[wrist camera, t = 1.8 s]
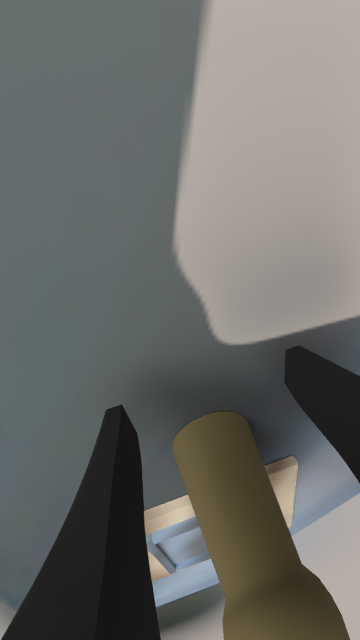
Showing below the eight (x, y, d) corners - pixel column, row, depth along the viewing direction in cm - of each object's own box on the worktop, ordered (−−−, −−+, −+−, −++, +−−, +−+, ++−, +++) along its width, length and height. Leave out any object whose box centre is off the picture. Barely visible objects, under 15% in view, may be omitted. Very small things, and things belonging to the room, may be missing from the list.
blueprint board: (292, 455, 23) (302, 470, 22) (287, 518, 32) (293, 532, 30) (79, 534, 21) (78, 556, 20) (136, 578, 30) (137, 595, 29)
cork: (239, 456, 21) (340, 683, 12) (168, 469, 19) (220, 742, 10) (257, 406, 18) (414, 658, 9) (176, 417, 16) (260, 737, 7)
